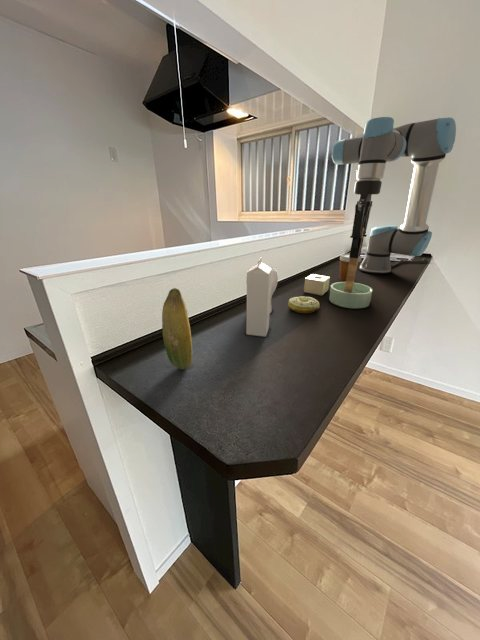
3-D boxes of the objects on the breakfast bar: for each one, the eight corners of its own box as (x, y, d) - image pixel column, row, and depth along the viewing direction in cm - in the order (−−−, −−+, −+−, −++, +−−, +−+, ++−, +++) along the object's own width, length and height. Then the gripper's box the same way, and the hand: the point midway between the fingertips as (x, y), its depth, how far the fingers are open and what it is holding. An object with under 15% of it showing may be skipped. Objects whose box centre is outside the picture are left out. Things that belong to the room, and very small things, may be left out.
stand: (310, 287, 119) (312, 274, 116) (328, 290, 114) (330, 276, 112) (303, 291, 113) (305, 278, 110) (322, 295, 108) (324, 281, 106)
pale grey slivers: (273, 305, 99) (275, 265, 93) (278, 316, 90) (280, 273, 83) (245, 305, 99) (245, 265, 92) (246, 317, 89) (247, 274, 83)
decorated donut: (324, 312, 93) (326, 302, 91) (299, 317, 89) (300, 306, 88) (306, 302, 102) (307, 292, 100) (283, 306, 98) (283, 296, 96)
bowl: (334, 293, 111) (337, 279, 108) (372, 300, 103) (375, 285, 101) (323, 304, 100) (326, 289, 97) (364, 313, 92) (368, 296, 90)
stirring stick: (344, 294, 99) (356, 227, 89) (351, 295, 98) (364, 227, 87) (343, 296, 97) (355, 228, 87) (350, 297, 96) (363, 228, 86)
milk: (246, 334, 78) (246, 260, 69) (250, 325, 84) (250, 256, 74) (266, 337, 77) (269, 261, 67) (269, 327, 82) (272, 256, 73)
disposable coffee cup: (335, 282, 125) (339, 256, 120) (336, 277, 133) (340, 253, 128) (356, 284, 122) (362, 258, 116) (357, 279, 129) (362, 254, 124)
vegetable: (199, 371, 62) (192, 291, 53) (173, 381, 59) (162, 297, 50) (189, 359, 66) (181, 283, 58) (164, 367, 63) (152, 288, 55)
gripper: (361, 181, 89) (349, 252, 99) (349, 179, 77) (337, 259, 87) (385, 181, 85) (370, 254, 95) (377, 178, 73) (361, 262, 84)
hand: (354, 256), depth 91 cm, fingers closed on stirring stick, 2 cm apart
